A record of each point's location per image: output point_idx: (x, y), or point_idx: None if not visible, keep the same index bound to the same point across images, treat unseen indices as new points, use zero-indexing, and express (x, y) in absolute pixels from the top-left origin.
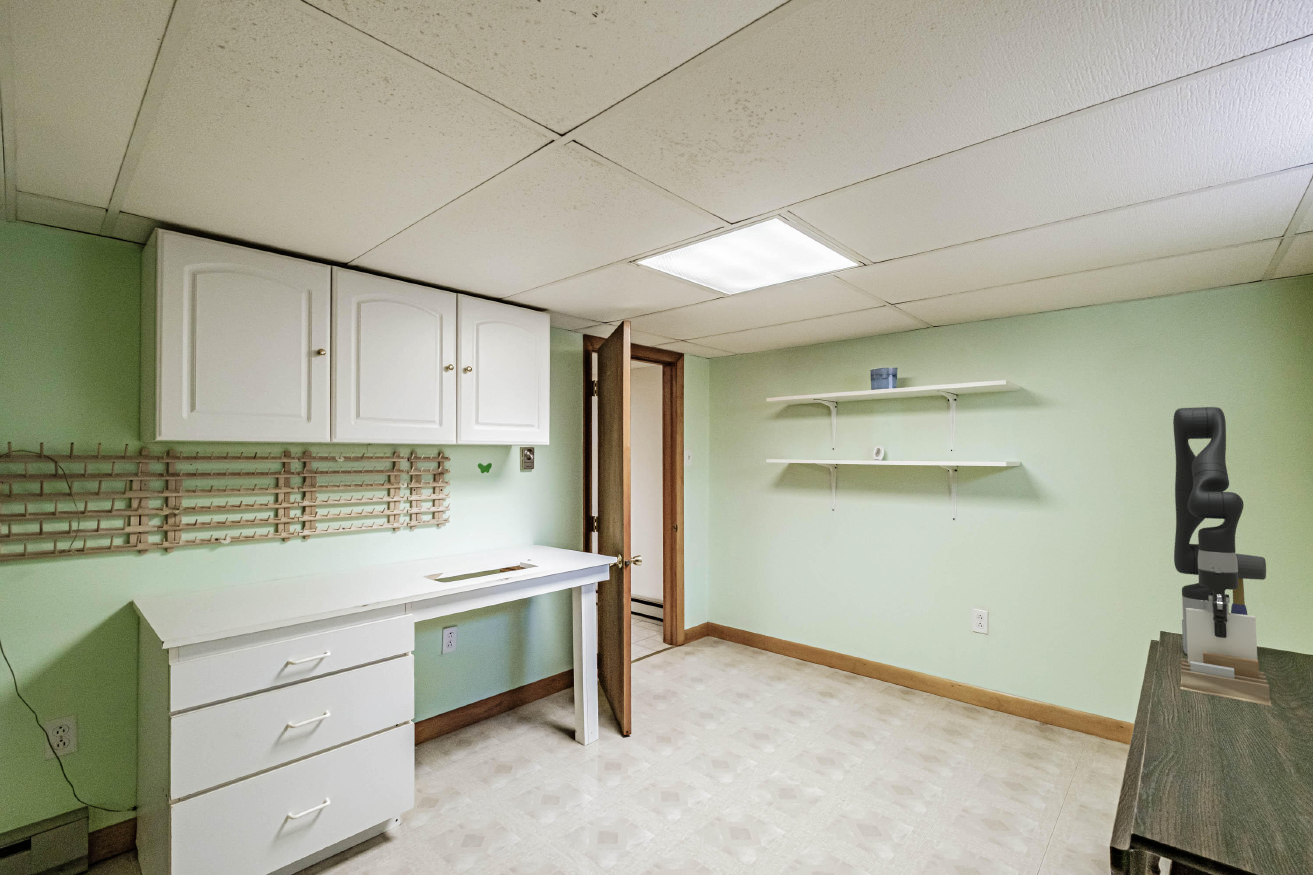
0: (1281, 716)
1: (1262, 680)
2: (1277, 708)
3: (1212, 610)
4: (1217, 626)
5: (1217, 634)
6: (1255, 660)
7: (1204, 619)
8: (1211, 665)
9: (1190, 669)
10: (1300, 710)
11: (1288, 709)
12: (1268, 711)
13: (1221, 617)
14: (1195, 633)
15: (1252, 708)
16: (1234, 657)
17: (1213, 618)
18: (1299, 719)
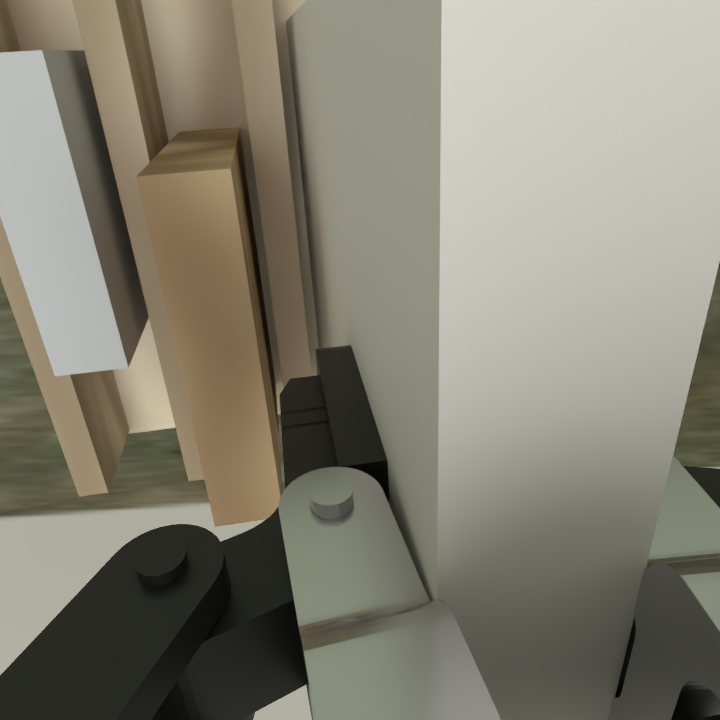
0: (13, 458)
1: (197, 460)
2: (147, 437)
3: (310, 694)
4: (285, 466)
5: (283, 389)
6: (259, 507)
7: (382, 336)
8: (51, 230)
9: (88, 48)
10: (207, 498)
11: (176, 467)
12: (46, 415)
13: (164, 706)
14: (331, 115)
15: (23, 360)
16: (230, 399)
17: (142, 565)
18: (43, 507)
